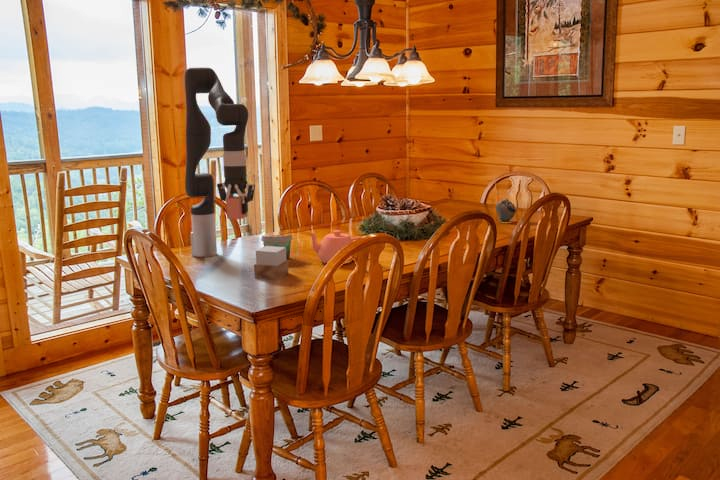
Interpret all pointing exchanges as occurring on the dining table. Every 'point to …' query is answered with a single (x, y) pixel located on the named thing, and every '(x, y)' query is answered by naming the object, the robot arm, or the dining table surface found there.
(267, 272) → the bottom slab
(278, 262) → the top slab
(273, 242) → the food container
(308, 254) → the dining table surface
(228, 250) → the dining table surface
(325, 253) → the teapot
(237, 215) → the red block
